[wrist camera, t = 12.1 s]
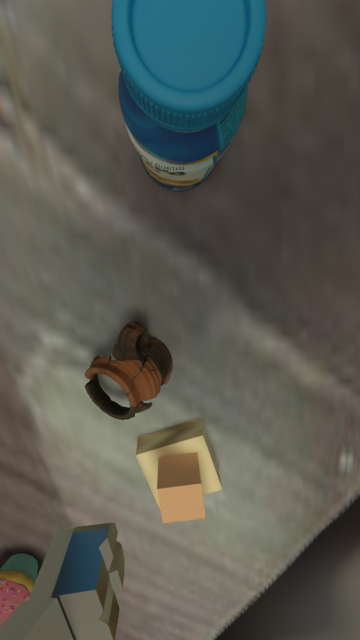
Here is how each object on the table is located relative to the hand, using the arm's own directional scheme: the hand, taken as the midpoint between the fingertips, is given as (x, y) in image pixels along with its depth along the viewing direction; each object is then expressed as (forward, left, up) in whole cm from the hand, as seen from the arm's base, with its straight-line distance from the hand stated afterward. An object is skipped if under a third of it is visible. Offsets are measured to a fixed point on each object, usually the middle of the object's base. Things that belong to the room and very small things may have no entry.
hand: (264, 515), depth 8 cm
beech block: (+5, +22, -30) cm, 37 cm away
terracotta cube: (+5, +22, -26) cm, 34 cm away
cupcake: (+33, +38, -29) cm, 58 cm away
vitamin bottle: (-1, -16, -29) cm, 33 cm away
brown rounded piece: (+9, +6, -29) cm, 31 cm away
